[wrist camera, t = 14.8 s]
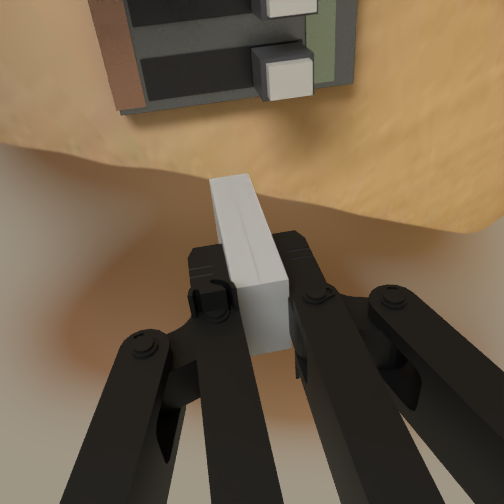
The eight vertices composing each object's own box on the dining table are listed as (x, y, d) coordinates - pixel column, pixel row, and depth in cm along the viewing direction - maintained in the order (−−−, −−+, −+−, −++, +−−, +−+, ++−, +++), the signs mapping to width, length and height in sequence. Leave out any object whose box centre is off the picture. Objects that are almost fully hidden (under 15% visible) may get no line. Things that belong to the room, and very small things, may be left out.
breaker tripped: (253, 86, 38) (265, 105, 34) (250, 48, 36) (262, 63, 32) (300, 80, 38) (317, 98, 34) (300, 41, 36) (318, 55, 32)
